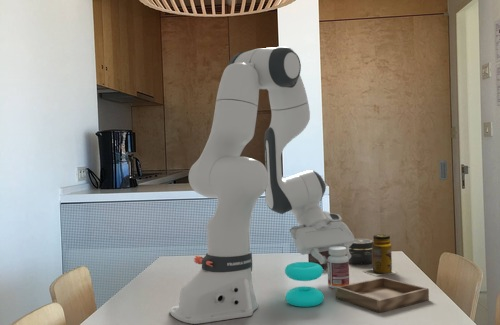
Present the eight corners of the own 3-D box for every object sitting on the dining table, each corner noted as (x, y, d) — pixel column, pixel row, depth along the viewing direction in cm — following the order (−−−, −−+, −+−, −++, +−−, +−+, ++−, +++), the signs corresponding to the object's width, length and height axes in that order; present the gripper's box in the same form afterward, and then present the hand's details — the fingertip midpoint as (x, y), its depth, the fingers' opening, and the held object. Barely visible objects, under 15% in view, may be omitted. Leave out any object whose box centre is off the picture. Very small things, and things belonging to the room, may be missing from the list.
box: (331, 266, 181) (331, 245, 181) (324, 269, 176) (324, 248, 176) (315, 264, 184) (315, 243, 184) (308, 268, 179) (307, 246, 179)
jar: (363, 258, 193) (363, 237, 193) (381, 263, 184) (380, 241, 183) (340, 261, 189) (340, 240, 189) (357, 266, 180) (356, 244, 179)
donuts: (301, 271, 132) (277, 264, 140) (302, 310, 132) (278, 301, 140) (330, 265, 137) (306, 259, 146) (331, 303, 138) (307, 295, 146)
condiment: (397, 273, 169) (396, 235, 168) (376, 276, 165) (375, 238, 165) (383, 268, 175) (382, 232, 175) (362, 271, 172) (361, 235, 172)
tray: (379, 312, 128) (379, 300, 128) (335, 298, 142) (335, 287, 142) (428, 300, 138) (428, 288, 138) (383, 287, 152) (383, 277, 151)
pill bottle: (353, 286, 154) (352, 248, 153) (338, 290, 150) (337, 250, 150) (339, 282, 159) (338, 245, 158) (323, 285, 155) (322, 247, 155)
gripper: (291, 220, 155) (313, 258, 147) (343, 214, 166) (366, 249, 158) (283, 233, 159) (304, 271, 151) (334, 227, 170) (356, 262, 162)
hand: (336, 260), depth 155 cm, fingers open, 8 cm apart
